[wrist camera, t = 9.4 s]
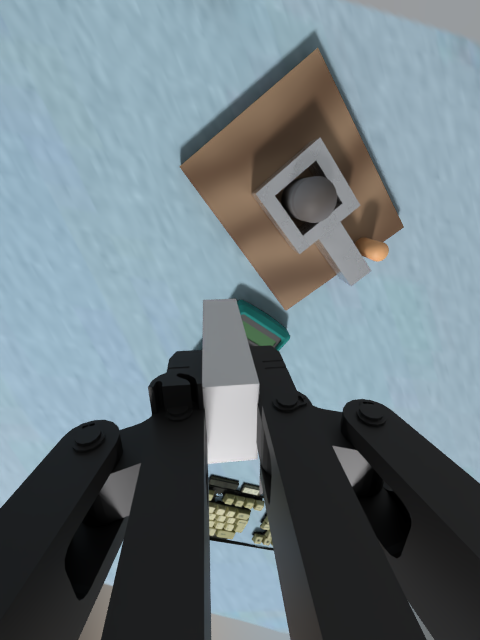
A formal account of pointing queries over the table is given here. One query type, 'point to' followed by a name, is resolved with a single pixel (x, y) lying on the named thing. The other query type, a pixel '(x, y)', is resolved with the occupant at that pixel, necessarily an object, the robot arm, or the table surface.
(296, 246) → the grey frame piece
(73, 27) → the table surface
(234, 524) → the keyboard
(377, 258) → the dowel pin
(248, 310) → the digital multimeter
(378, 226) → the board
